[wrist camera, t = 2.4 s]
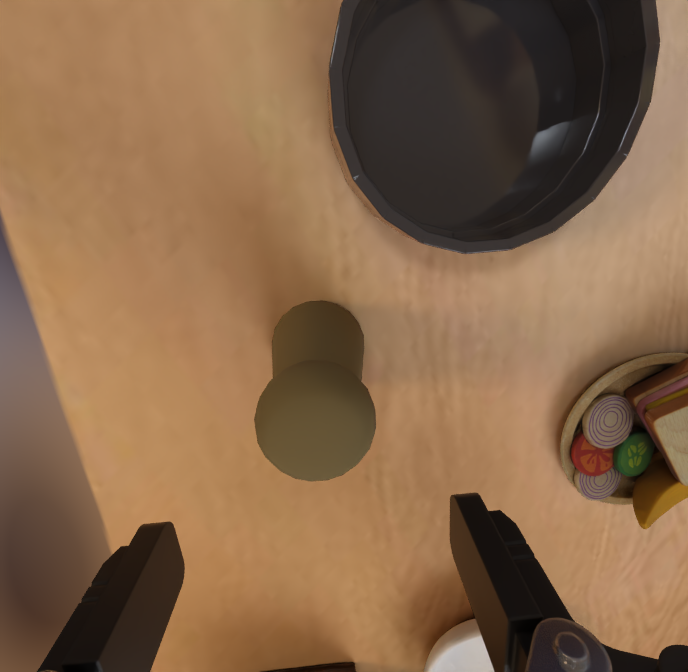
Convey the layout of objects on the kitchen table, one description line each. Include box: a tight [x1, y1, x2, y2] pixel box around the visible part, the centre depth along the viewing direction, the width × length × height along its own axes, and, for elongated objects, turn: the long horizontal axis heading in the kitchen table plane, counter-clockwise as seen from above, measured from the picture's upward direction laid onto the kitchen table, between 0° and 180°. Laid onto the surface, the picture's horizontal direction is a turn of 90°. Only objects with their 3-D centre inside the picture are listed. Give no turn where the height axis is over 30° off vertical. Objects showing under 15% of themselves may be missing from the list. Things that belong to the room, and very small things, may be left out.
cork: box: [254, 301, 376, 481], centre depth 21 cm, size 6×6×11 cm
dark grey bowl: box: [328, 0, 660, 254], centre depth 19 cm, size 14×14×5 cm
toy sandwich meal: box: [560, 353, 688, 529], centre depth 27 cm, size 12×14×5 cm
